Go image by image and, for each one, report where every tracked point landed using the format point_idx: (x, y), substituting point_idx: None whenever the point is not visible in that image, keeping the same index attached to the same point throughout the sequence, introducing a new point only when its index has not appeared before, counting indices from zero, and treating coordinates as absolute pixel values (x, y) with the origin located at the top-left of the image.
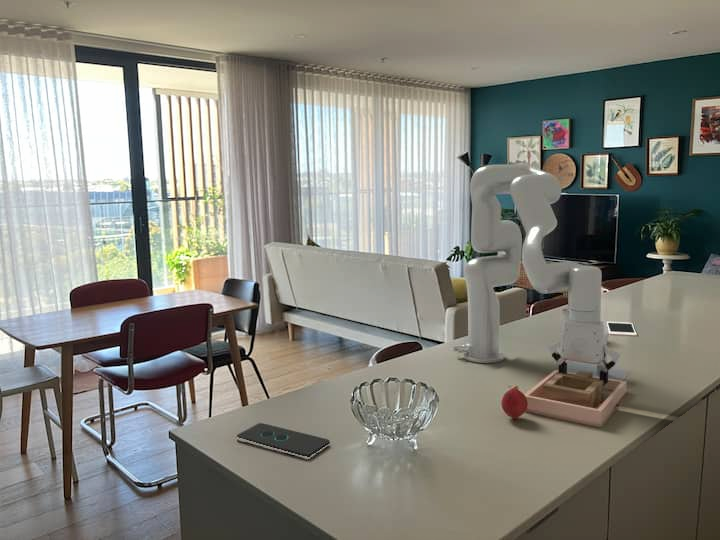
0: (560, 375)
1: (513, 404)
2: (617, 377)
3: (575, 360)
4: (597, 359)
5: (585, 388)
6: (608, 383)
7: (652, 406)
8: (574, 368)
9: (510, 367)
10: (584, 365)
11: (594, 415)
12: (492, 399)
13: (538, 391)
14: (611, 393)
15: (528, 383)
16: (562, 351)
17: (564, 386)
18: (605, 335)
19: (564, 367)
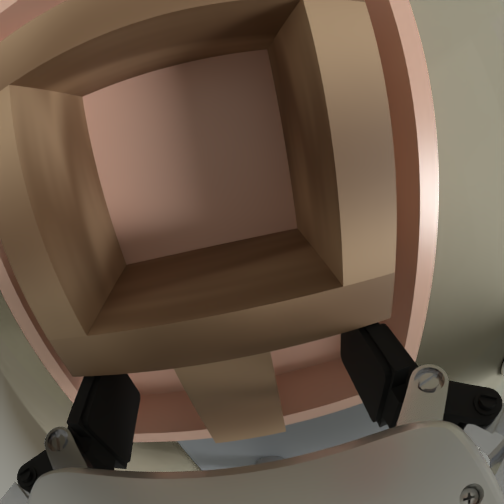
0: (361, 276)
1: None
2: (219, 466)
3: (272, 468)
4: (38, 500)
5: (158, 287)
6: (162, 419)
7: (24, 361)
8: None
9: (495, 339)
10: None
11: None
12: (476, 36)
13: (391, 83)
14: (15, 293)
15: (457, 275)
16: (473, 477)
17: (301, 250)
18: None
19: (373, 379)
